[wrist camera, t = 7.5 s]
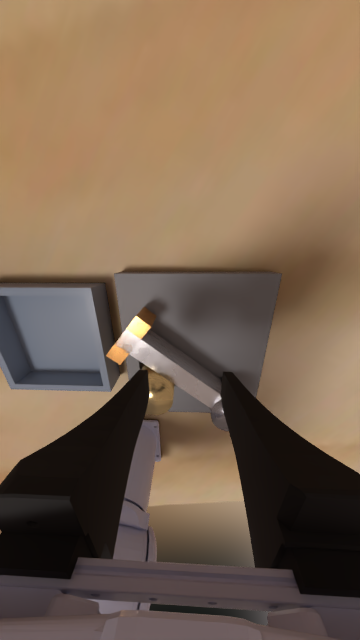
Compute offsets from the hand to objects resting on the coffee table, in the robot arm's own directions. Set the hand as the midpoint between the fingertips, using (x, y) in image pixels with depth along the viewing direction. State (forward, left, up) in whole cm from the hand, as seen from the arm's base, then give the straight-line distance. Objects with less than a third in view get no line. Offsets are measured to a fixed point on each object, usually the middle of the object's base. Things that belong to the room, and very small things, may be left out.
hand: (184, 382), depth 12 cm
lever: (-4, 0, -7) cm, 8 cm away
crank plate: (-3, -1, -9) cm, 10 cm away
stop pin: (-5, +3, -9) cm, 11 cm away
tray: (-1, +15, -9) cm, 18 cm away
